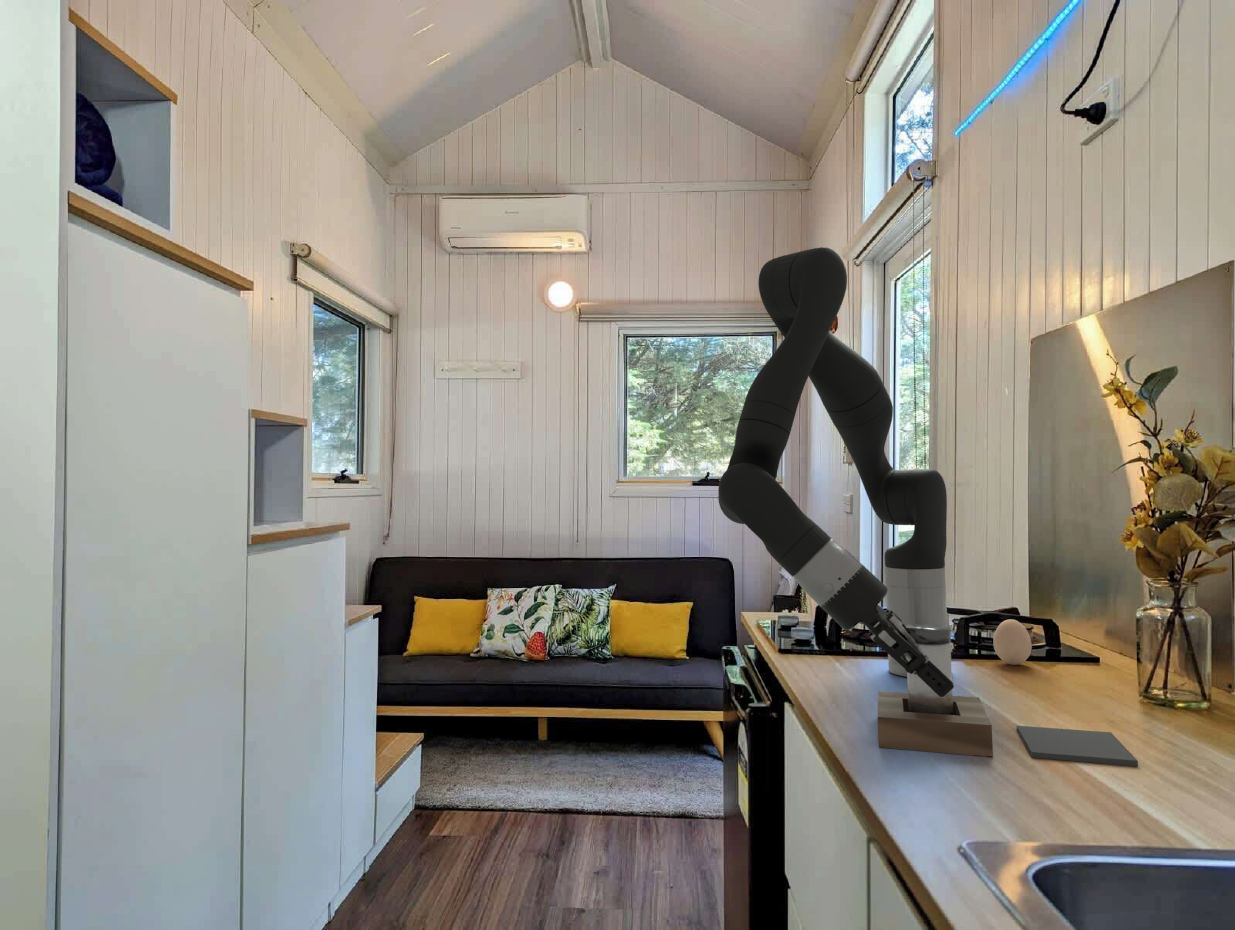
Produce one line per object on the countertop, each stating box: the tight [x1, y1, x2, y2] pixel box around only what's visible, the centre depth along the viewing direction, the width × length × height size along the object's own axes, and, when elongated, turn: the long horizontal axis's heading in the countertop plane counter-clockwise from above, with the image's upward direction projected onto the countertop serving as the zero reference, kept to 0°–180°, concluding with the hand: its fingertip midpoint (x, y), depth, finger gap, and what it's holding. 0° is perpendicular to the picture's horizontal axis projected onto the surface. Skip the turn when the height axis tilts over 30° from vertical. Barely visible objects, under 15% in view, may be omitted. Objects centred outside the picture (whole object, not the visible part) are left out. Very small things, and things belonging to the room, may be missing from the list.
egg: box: [992, 618, 1033, 666], centre depth 127 cm, size 6×6×8 cm
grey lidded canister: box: [905, 624, 953, 715], centre depth 91 cm, size 5×5×13 cm
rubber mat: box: [1016, 725, 1139, 767], centre depth 86 cm, size 10×10×1 cm
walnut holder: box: [877, 690, 994, 758], centre depth 91 cm, size 12×12×4 cm
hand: (945, 685), depth 91 cm, fingers closed on grey lidded canister, 5 cm apart
